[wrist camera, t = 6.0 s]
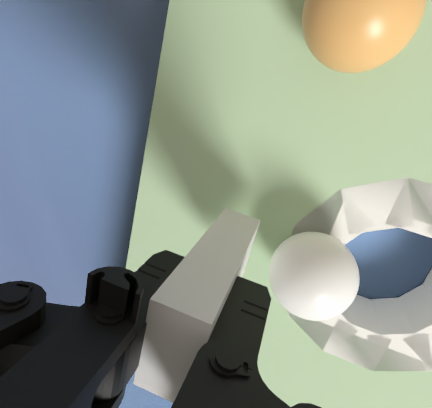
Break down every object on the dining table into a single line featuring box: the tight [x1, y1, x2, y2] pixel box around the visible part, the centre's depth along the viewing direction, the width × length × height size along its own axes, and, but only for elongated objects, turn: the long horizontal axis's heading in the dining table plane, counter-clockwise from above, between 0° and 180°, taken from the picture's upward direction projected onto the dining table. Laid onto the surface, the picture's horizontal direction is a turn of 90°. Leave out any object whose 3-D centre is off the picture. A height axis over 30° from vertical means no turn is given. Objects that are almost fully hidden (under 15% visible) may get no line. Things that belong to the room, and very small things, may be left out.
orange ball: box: [302, 0, 427, 73], centre depth 10 cm, size 3×3×3 cm
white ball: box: [269, 232, 360, 321], centre depth 13 cm, size 3×3×3 cm
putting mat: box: [126, 0, 432, 408], centre depth 16 cm, size 17×22×3 cm
